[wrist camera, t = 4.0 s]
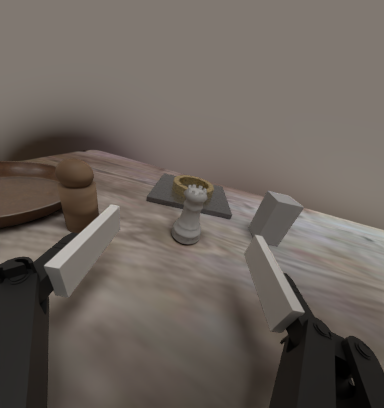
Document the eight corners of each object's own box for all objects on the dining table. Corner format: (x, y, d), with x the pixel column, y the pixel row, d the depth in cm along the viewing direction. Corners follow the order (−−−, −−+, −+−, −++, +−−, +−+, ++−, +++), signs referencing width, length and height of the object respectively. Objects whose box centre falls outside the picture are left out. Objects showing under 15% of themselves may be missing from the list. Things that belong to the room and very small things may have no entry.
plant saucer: (88, 178, 32) (86, 164, 31) (78, 231, 19) (74, 212, 18) (-48, 174, 23) (-59, 155, 22) (-233, 268, 10) (-291, 235, 9)
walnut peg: (99, 215, 22) (93, 156, 18) (99, 230, 20) (93, 165, 15) (68, 218, 20) (54, 152, 16) (64, 235, 18) (46, 163, 14)
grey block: (267, 231, 29) (289, 195, 25) (277, 246, 25) (304, 207, 22) (248, 227, 29) (267, 190, 25) (255, 241, 25) (278, 201, 21)
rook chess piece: (204, 236, 23) (220, 191, 20) (187, 251, 20) (202, 200, 16) (183, 222, 25) (193, 179, 21) (164, 234, 22) (172, 184, 18)
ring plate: (221, 190, 43) (224, 180, 41) (230, 219, 30) (235, 206, 28) (163, 176, 42) (165, 166, 40) (146, 200, 29) (147, 186, 27)
